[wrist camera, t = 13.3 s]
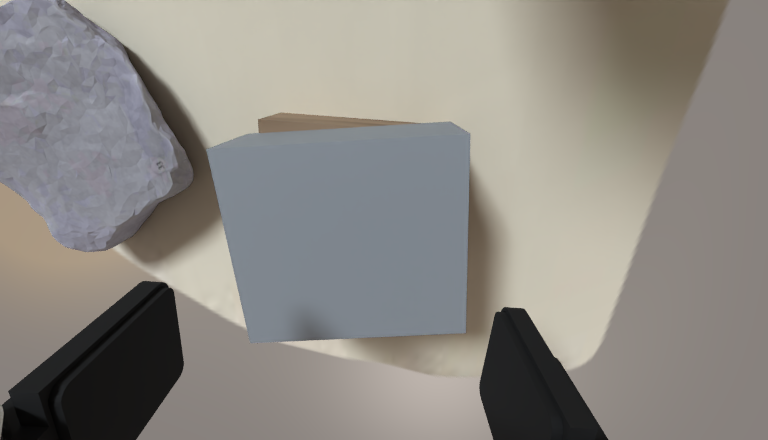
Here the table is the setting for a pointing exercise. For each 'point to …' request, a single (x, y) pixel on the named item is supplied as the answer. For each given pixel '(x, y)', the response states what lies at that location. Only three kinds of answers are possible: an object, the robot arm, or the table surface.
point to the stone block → (80, 127)
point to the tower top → (347, 230)
